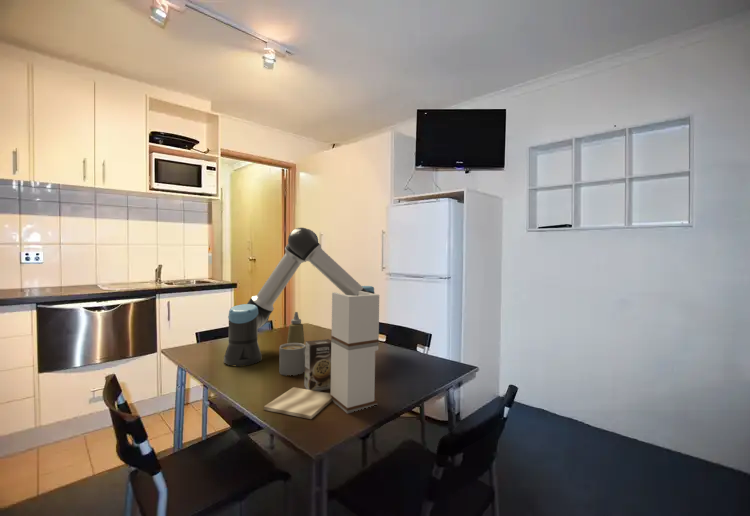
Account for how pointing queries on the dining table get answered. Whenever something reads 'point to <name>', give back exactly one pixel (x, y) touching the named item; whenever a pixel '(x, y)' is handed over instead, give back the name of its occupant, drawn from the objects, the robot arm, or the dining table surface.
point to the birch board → (300, 403)
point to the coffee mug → (292, 359)
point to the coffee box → (318, 365)
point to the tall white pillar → (354, 350)
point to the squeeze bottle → (296, 331)
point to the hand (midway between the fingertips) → (335, 335)
